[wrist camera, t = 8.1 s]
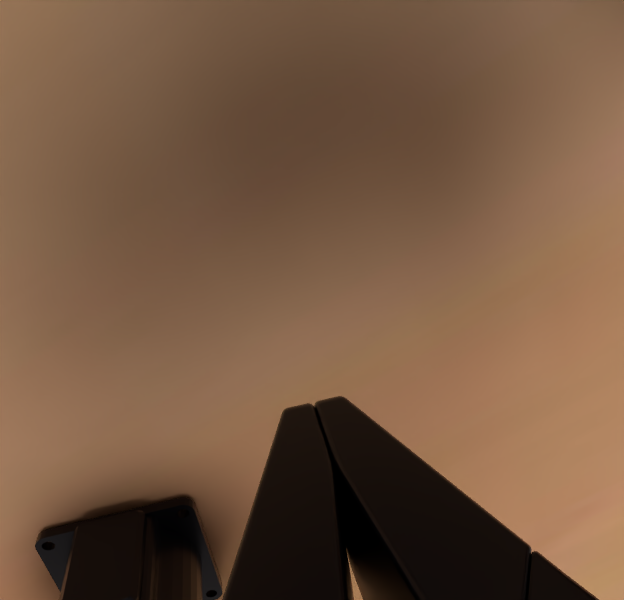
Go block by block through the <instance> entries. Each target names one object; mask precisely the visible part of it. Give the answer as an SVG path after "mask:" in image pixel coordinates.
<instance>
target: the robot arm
mask: <svg viewBox="0 0 624 600" xmlns="http://www.w3.org/2000/svg"><path fill="white" fill-rule="evenodd" d="M181 509H186V510H181ZM35 547H36V550H37V552H38V554H39V555H40V557H41V559H42V561H43V562H44V564H45V566H46V568H47V569H48V571H49V573H50V575H51V576H52V578H53V580H54V582H55V583H56V585H57V587H58V589H59V590H60V592H61V593H60V598H59V600H215V599H218V598H219V597H220V596H221V595H222V582H221V580H220V577H219V574H218V571H217V568H216V565H215V562H214V559H213V556H212V553H211V550H210V547H209V544H208V541H207V538H206V535H205V532H204V529H203V526H202V524H201V521H200V518H199V515H198V512H197V509H196V506H195V503H194V502H193V500H191V499H190V498H185V497H184V498H178V499H173V500H169V501H165V502H161V503H157V504H152V505H148V506H144V507H140V508H136V509H132V510H127V511H123V512H119V513H115V514H111V515H107V516H102V517H98V518H94V519H90V520H86V521H81V522H77V523H73V524H69V525H65V526H61V527H56V528H52V529H48V530H45V531H42V532H41V533H40V534H39V535H38V537H37V541H36V544H35ZM347 554H348V556H347ZM348 558H349V561H350V565H351V568H352V570H353V573H354V576H355V579H356V582H357V584H358V587H359V589H360V592H361V595H362V597H363V600H599V599H597V598H596V597H595V596H594V595H592V594H591V593H590V592H588V591H587V590H586V589H584V588H583V587H582V586H580V585H579V584H578V583H576V582H575V581H574V580H573V579H571V578H570V577H569V576H567V575H566V574H565V573H563V572H562V571H561V570H560V569H558V568H557V567H556V566H555V565H553V564H552V563H551V562H550V561H549V560H547V559H546V558H545V557H544V556H542V555H541V554H540V553H539V552H537V551H534V552H532V553H531V547H530V546H529V545H528V544H527V543H526V542H525V541H523V540H522V539H521V538H520V537H518V536H517V535H516V534H515V533H513V532H512V531H511V530H510V529H508V528H507V527H506V526H505V525H503V524H502V523H501V522H500V521H498V520H497V519H496V518H495V517H493V516H492V515H491V514H490V513H488V512H487V511H486V510H485V509H483V508H482V507H481V506H480V505H478V504H477V503H476V502H475V501H473V500H472V499H471V498H470V497H468V496H467V495H466V494H465V493H463V492H462V491H461V490H460V489H458V488H457V487H456V486H455V485H453V484H452V483H451V482H450V481H448V480H447V479H446V478H445V477H443V476H442V475H441V474H440V473H438V472H437V471H436V470H435V469H433V468H432V467H431V466H430V465H428V464H427V463H426V462H425V461H423V460H422V459H421V458H420V457H418V456H417V455H416V454H415V453H413V452H412V451H411V450H410V449H408V448H407V447H406V446H405V445H403V444H402V443H401V442H400V441H398V440H397V439H396V438H395V437H393V436H392V435H391V434H390V433H389V432H387V431H386V430H385V429H384V428H382V427H381V426H380V425H379V424H377V423H376V422H375V421H374V420H372V419H371V418H370V417H369V416H367V415H366V414H365V413H364V412H362V411H361V410H360V409H359V408H357V407H356V406H355V405H354V404H352V403H351V402H350V401H349V400H347V399H346V398H345V397H342V396H338V397H333V398H329V399H325V400H320V401H317V402H316V403H315V405H314V406H313V405H312V404H310V403H307V404H303V405H298V406H294V407H290V408H286V409H285V410H284V411H283V413H282V415H281V418H280V421H279V424H278V428H277V431H276V434H275V437H274V440H273V443H272V446H271V449H270V452H269V456H268V459H267V462H266V465H265V468H264V471H263V474H262V477H261V481H260V484H259V487H258V490H257V493H256V496H255V499H254V502H253V506H252V509H251V512H250V515H249V518H248V521H247V524H246V527H245V530H244V534H243V537H242V540H241V543H240V546H239V549H238V552H237V555H236V559H235V562H234V565H233V568H232V571H231V574H230V577H229V580H228V584H227V587H226V590H225V593H224V596H223V599H222V600H354V597H353V589H352V581H351V575H350V569H349V562H348Z"/></svg>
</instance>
